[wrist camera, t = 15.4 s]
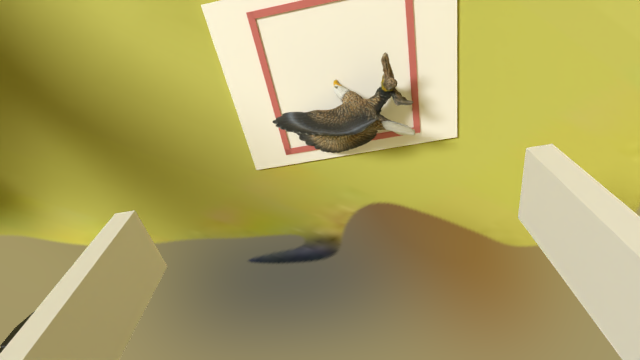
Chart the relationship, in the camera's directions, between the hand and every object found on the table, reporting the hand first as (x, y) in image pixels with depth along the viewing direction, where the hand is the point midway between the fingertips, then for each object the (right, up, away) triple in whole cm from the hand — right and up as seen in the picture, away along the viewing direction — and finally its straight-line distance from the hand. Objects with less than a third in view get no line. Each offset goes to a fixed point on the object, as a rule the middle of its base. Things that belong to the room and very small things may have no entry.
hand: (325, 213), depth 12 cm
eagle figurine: (+2, +7, +17) cm, 19 cm away
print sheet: (+1, +9, +16) cm, 19 cm away
